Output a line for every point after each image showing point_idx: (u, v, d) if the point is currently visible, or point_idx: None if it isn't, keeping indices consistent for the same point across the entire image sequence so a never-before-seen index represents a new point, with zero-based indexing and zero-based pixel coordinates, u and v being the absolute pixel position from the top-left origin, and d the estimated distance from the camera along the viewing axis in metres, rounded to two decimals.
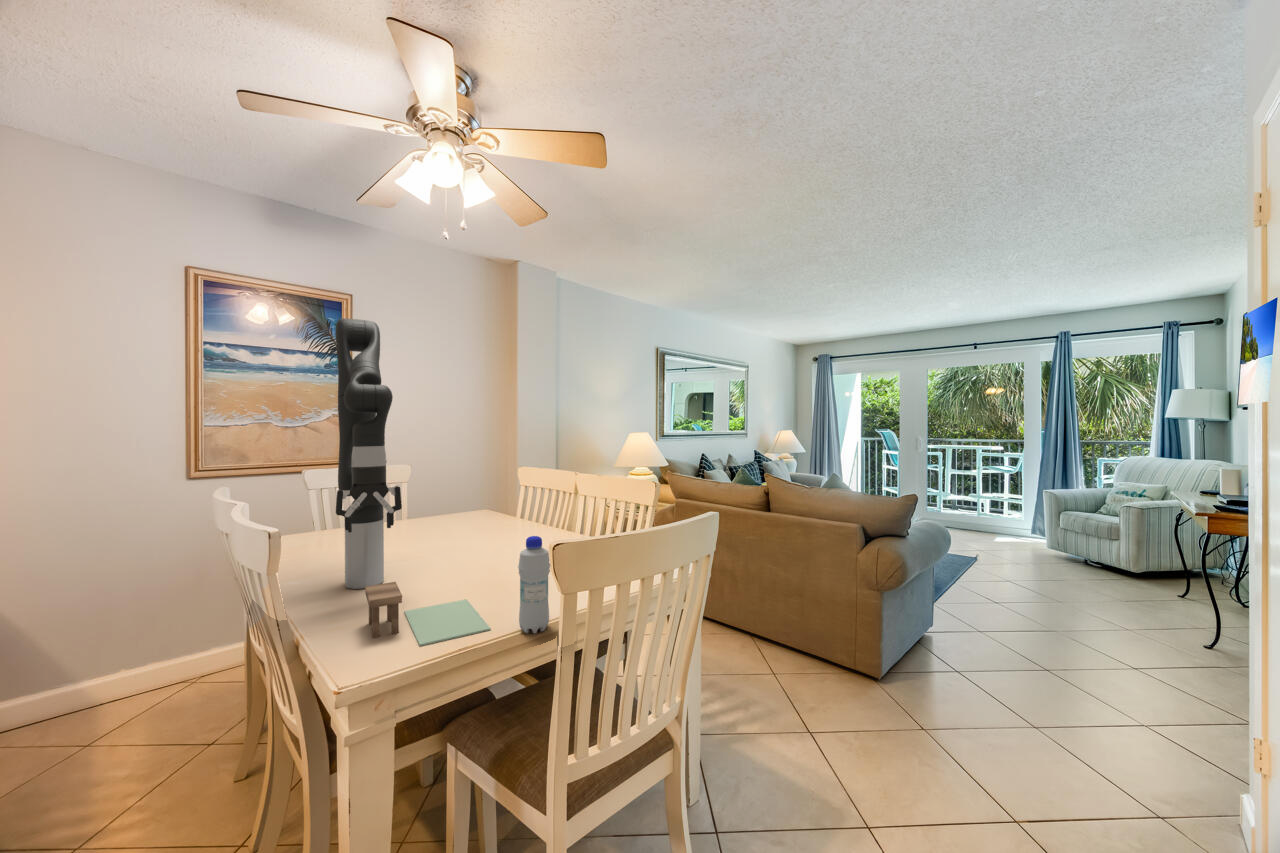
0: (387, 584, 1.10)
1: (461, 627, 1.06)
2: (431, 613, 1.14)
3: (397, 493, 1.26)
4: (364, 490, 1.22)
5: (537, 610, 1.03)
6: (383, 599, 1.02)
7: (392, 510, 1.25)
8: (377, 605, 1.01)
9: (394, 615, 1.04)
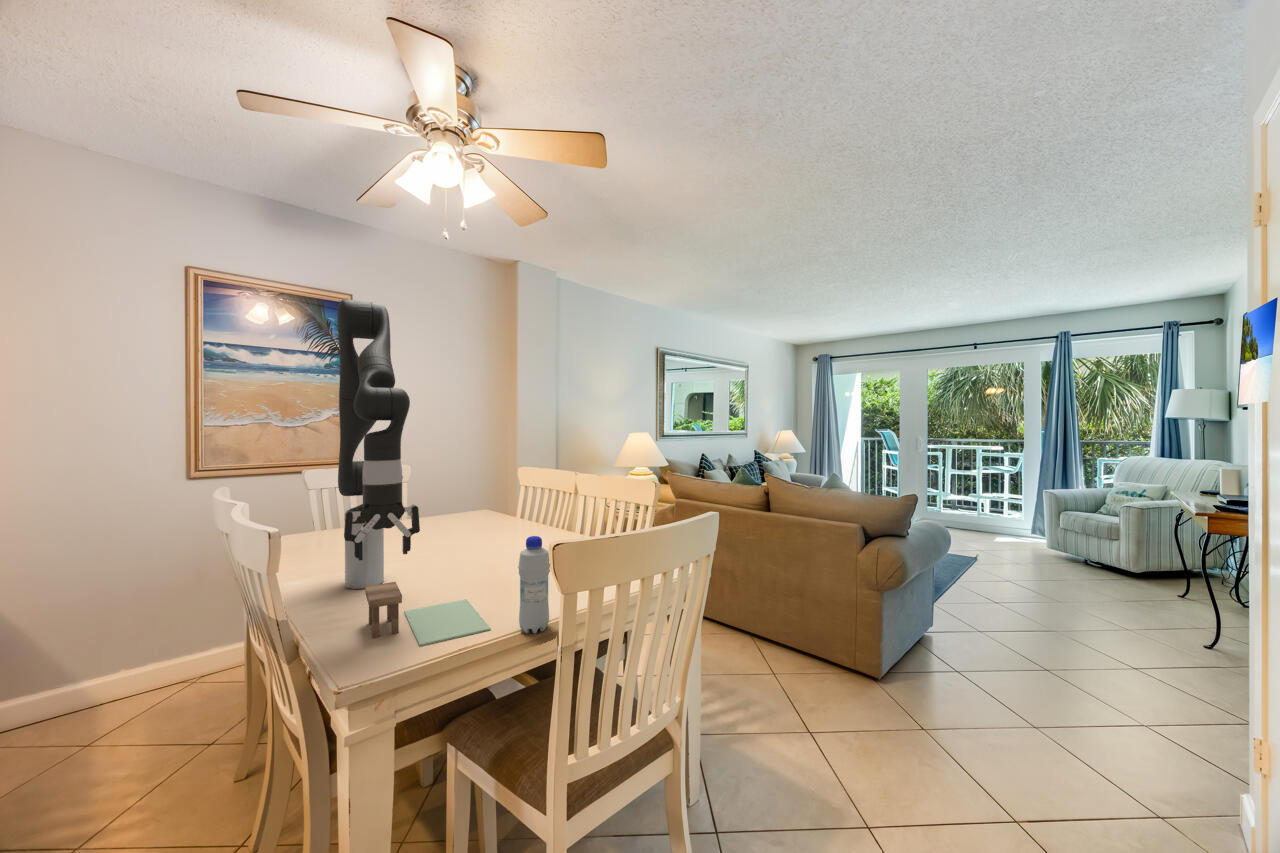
0: (387, 584, 1.10)
1: (461, 627, 1.06)
2: (431, 613, 1.14)
3: (415, 514, 1.08)
4: (377, 511, 1.05)
5: (537, 610, 1.03)
6: (383, 599, 1.02)
7: (409, 533, 1.08)
8: (377, 605, 1.01)
9: (394, 615, 1.04)
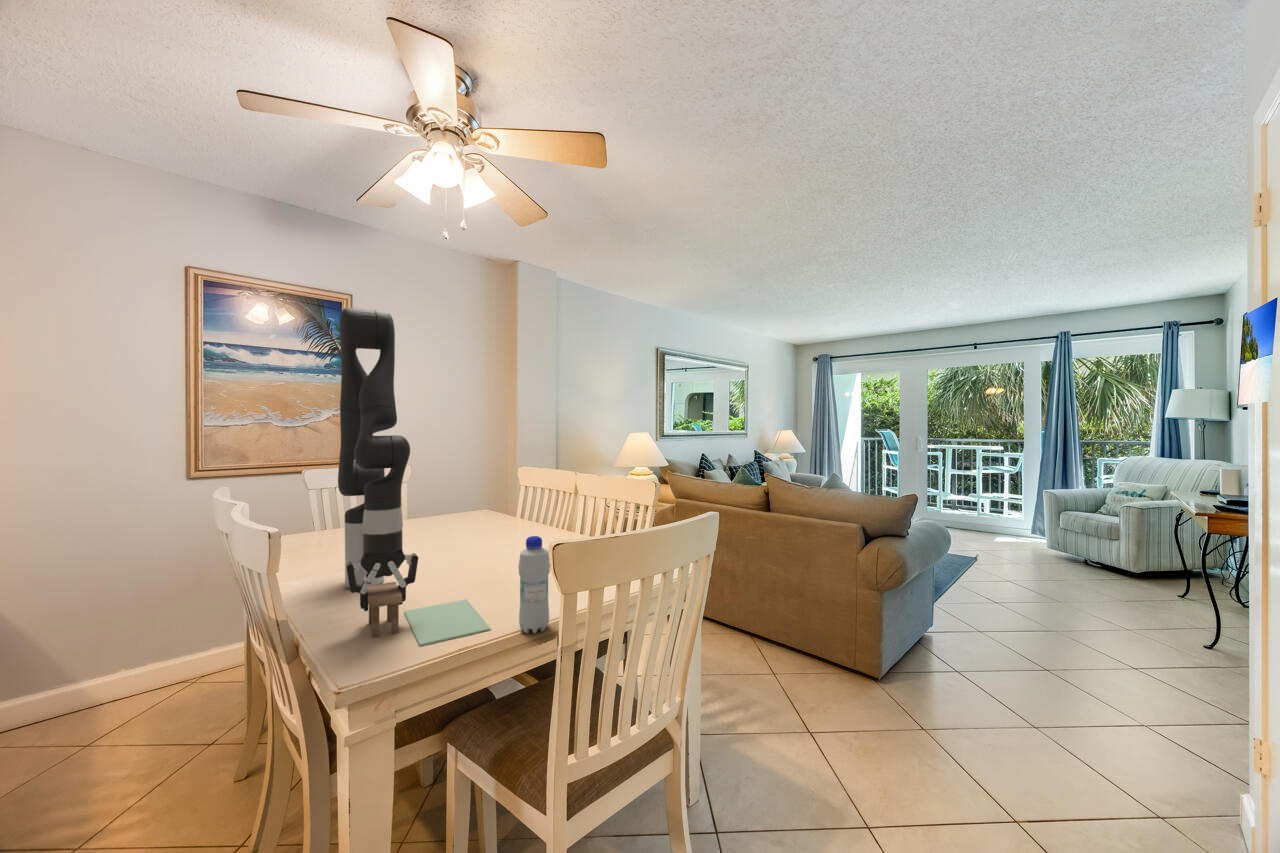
0: (387, 584, 1.10)
1: (461, 627, 1.06)
2: (431, 613, 1.14)
3: (414, 563, 1.09)
4: (377, 559, 1.05)
5: (537, 610, 1.03)
6: (383, 599, 1.02)
7: (404, 584, 1.08)
8: (377, 605, 1.01)
9: (394, 615, 1.04)
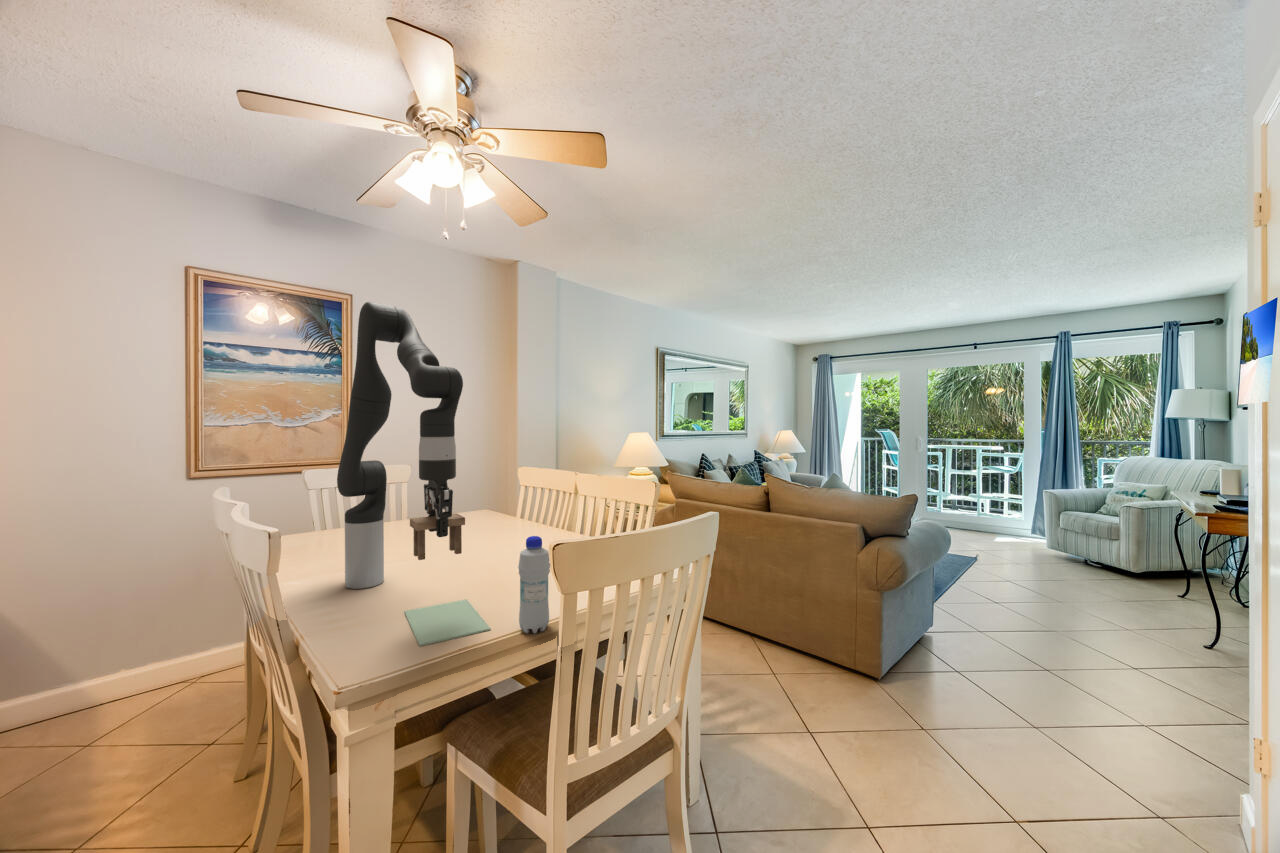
0: (457, 516, 1.10)
1: (461, 627, 1.06)
2: (431, 613, 1.14)
3: (439, 498, 1.03)
4: (431, 485, 1.09)
5: (537, 610, 1.03)
6: (412, 521, 1.06)
7: (437, 516, 1.05)
8: (411, 525, 1.07)
9: (418, 541, 1.05)
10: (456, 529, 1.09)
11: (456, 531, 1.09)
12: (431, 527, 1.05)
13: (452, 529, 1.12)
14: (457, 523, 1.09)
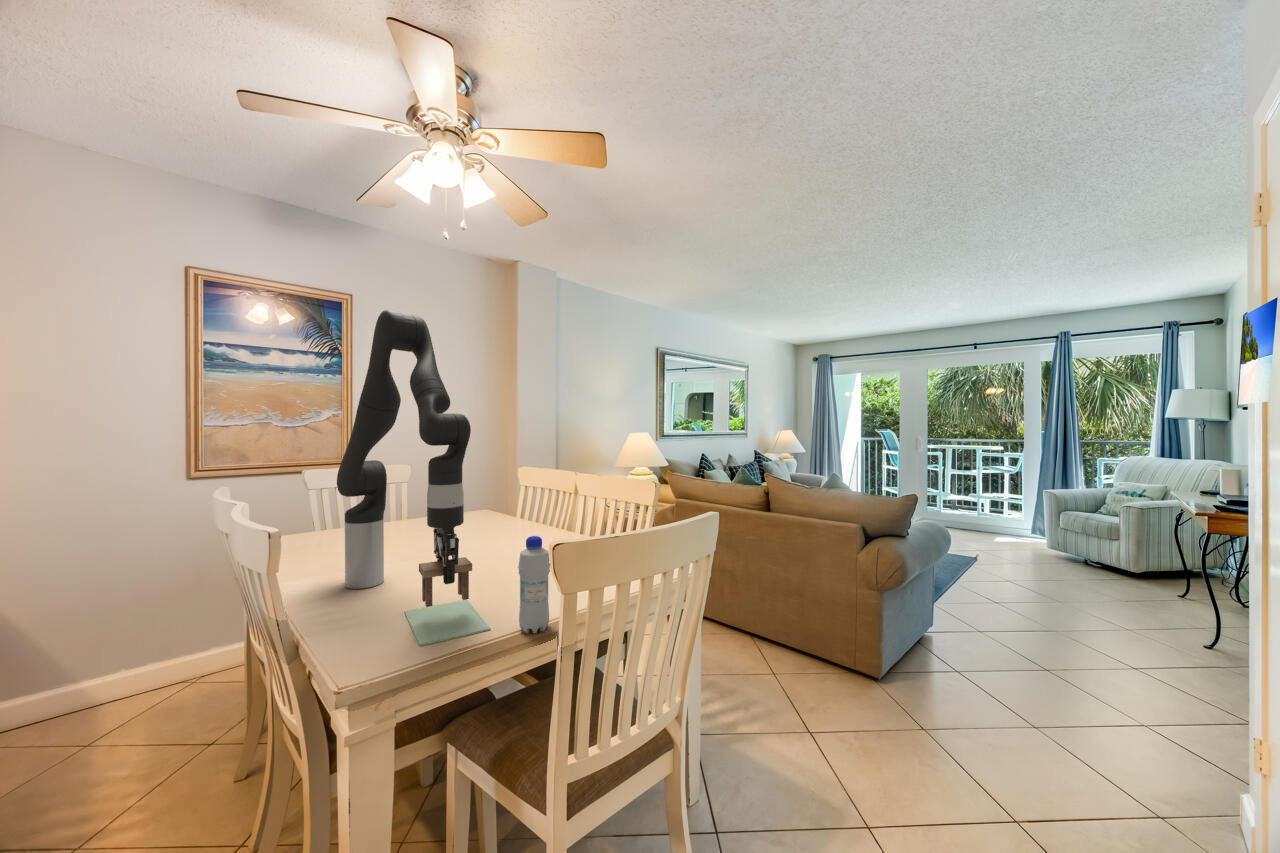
0: (465, 562, 1.11)
1: (461, 627, 1.06)
2: (431, 613, 1.14)
3: (445, 547, 1.04)
4: (439, 531, 1.10)
5: (537, 610, 1.03)
6: (420, 568, 1.08)
7: (443, 564, 1.06)
8: (420, 571, 1.09)
9: (425, 588, 1.06)
10: (463, 575, 1.10)
11: (463, 577, 1.10)
12: (438, 574, 1.06)
13: (460, 573, 1.13)
14: (464, 569, 1.09)
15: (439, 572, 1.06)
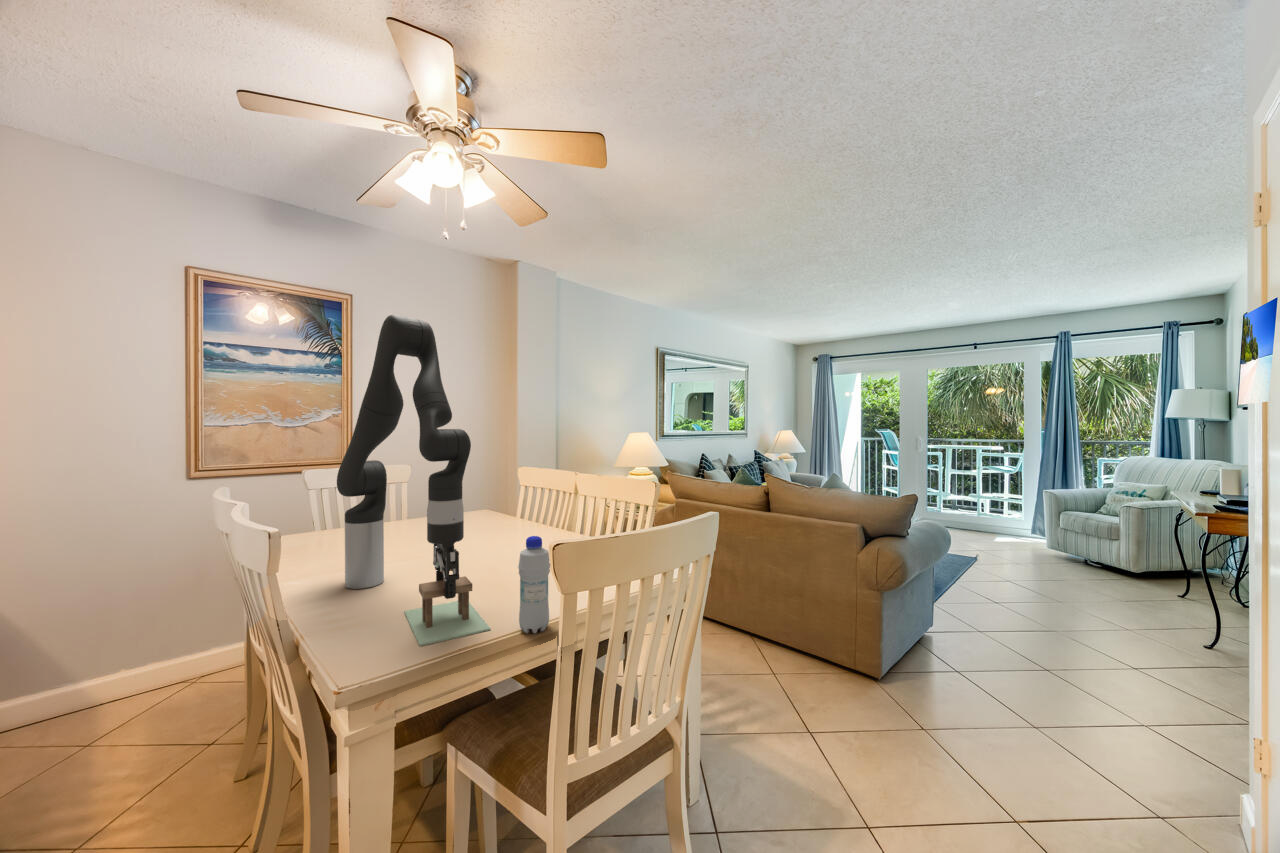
0: (465, 582, 1.11)
1: (461, 627, 1.06)
2: None
3: (446, 560, 1.04)
4: (439, 546, 1.10)
5: (537, 610, 1.03)
6: (420, 588, 1.07)
7: (444, 579, 1.05)
8: (420, 591, 1.08)
9: (425, 609, 1.06)
10: (463, 595, 1.10)
11: (463, 597, 1.10)
12: (438, 595, 1.06)
13: (460, 593, 1.13)
14: (464, 590, 1.09)
15: (439, 593, 1.06)
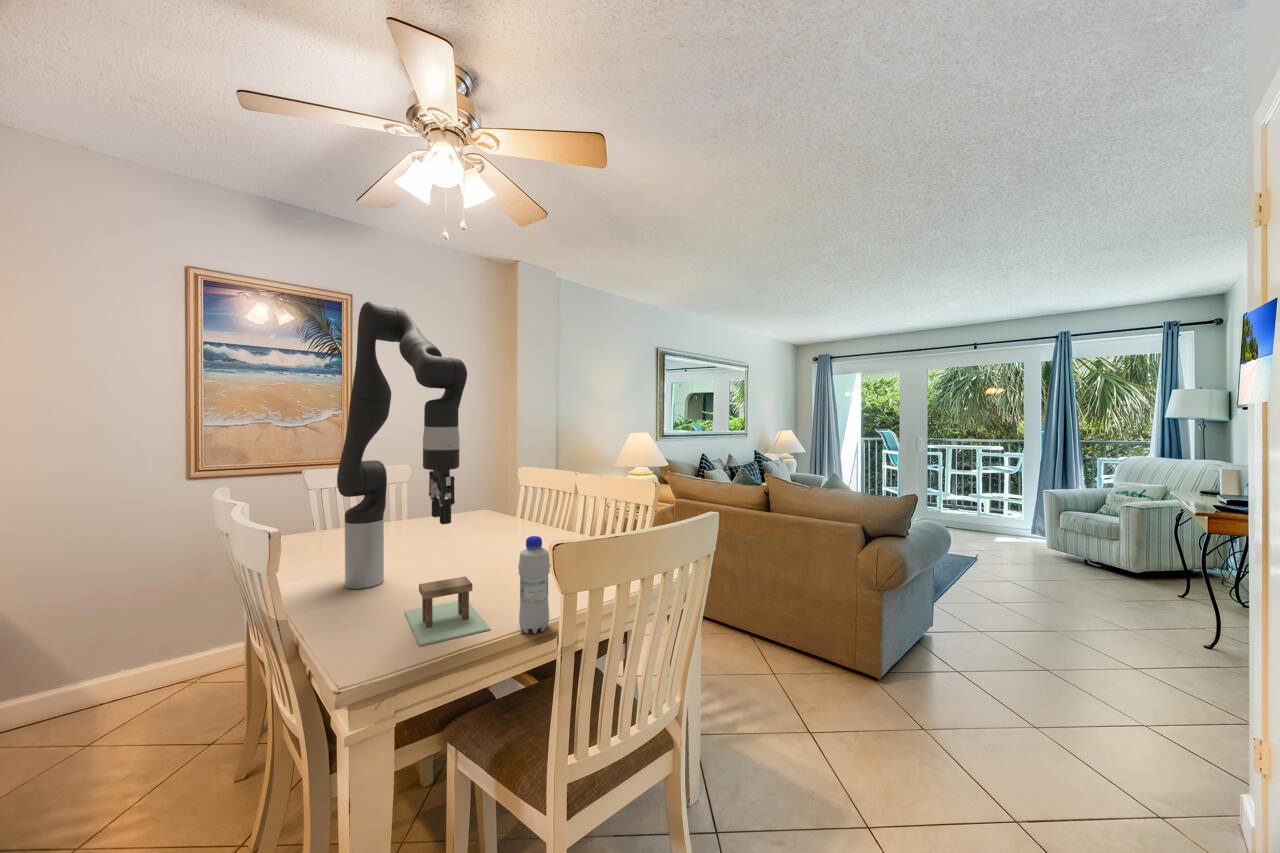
0: (465, 582, 1.11)
1: (461, 627, 1.06)
2: None
3: (441, 485, 1.04)
4: (435, 475, 1.10)
5: (537, 610, 1.03)
6: (420, 588, 1.07)
7: (440, 504, 1.05)
8: (420, 591, 1.08)
9: (425, 609, 1.06)
10: (463, 595, 1.10)
11: (463, 597, 1.10)
12: (438, 595, 1.06)
13: (460, 593, 1.13)
14: (464, 590, 1.09)
15: (439, 593, 1.06)
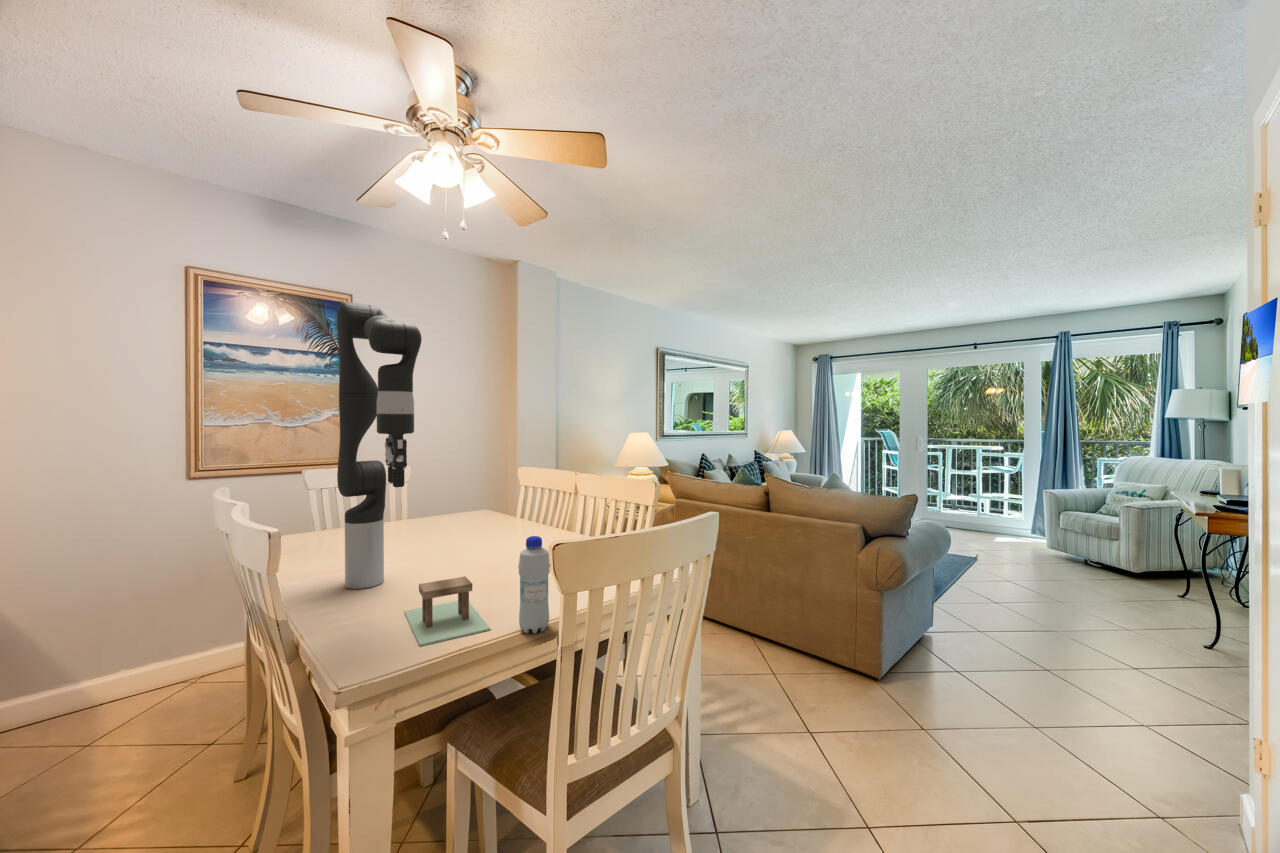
0: (465, 582, 1.11)
1: (461, 627, 1.06)
2: None
3: (393, 447, 1.05)
4: (389, 440, 1.11)
5: (537, 610, 1.03)
6: (420, 588, 1.07)
7: (392, 467, 1.06)
8: (420, 591, 1.08)
9: (425, 609, 1.06)
10: (463, 595, 1.10)
11: (463, 597, 1.10)
12: (438, 595, 1.06)
13: (460, 593, 1.13)
14: (464, 590, 1.09)
15: (439, 593, 1.06)
